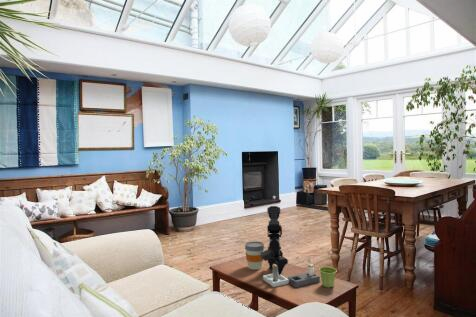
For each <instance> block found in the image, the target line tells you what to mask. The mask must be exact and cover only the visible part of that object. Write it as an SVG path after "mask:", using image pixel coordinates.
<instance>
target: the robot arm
mask: <svg viewBox="0 0 476 317" xmlns="http://www.w3.org/2000/svg"><path fill="white" fill-rule="evenodd" d="M266 208H267V215H268V218H269V219H270V220H269V221H268V225H266V226H267V238H268V239H269V242H268V247H267V250H264V252H262V253H261V257H262V259H263V261H267V262H268V268H269V269H270V271H273V267H272V265H273V264H276V265H277V267H278V274H279V275H282V272H283V270H284V268H285V266H286V265H287V264H289V260H288V258H286V257H285V256H283V255H284V253H283V252H282V247H281V245H280V243H281V242H280V238H281V237H282V236H283V228H282V225H281V224H280V220H279V218H280V214H281V207H280V206H277V205H271V206H269V207H266Z"/></svg>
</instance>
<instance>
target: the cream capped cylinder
mask: <svg viewBox="0 0 476 317" xmlns="http://www.w3.org/2000/svg"><path fill="white" fill-rule="evenodd" d="M272 267H273V270H272V273H273V281H278V267H277V265H276V264H273V265H272Z"/></svg>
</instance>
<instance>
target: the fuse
mask: <svg viewBox="0 0 476 317" xmlns="http://www.w3.org/2000/svg"><path fill="white" fill-rule="evenodd" d="M314 267H315V266H314V264H313V263H308V264H307V270H308V272H307V273H308V276H309V277H313V276H314V274H315V273H314V271H315V268H314Z"/></svg>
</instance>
